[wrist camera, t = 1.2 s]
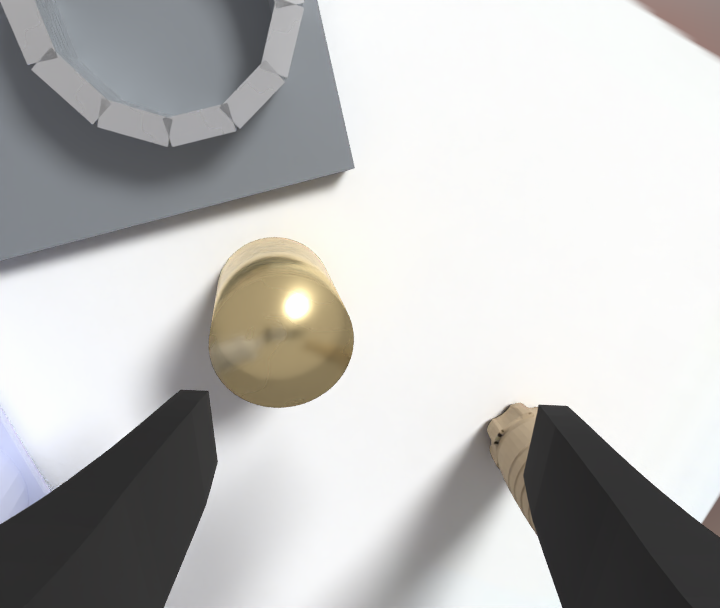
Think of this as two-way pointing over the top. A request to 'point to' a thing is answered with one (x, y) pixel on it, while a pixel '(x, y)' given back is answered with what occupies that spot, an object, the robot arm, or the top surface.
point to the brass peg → (278, 325)
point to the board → (164, 94)
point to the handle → (513, 450)
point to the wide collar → (103, 107)
